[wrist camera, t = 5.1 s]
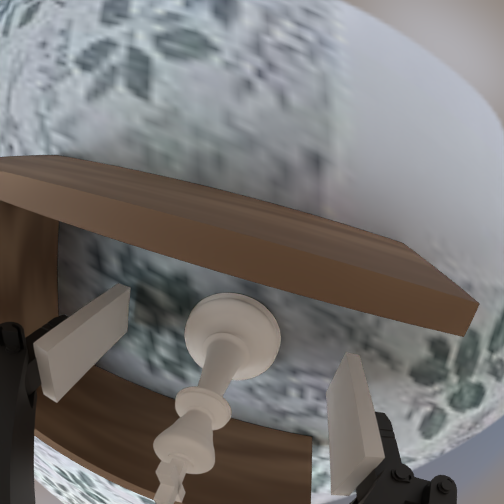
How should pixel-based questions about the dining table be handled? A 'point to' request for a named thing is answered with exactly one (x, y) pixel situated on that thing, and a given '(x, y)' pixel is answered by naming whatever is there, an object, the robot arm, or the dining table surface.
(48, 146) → the dining table surface
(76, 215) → the walnut u-shaped open frame
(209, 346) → the chess piece
